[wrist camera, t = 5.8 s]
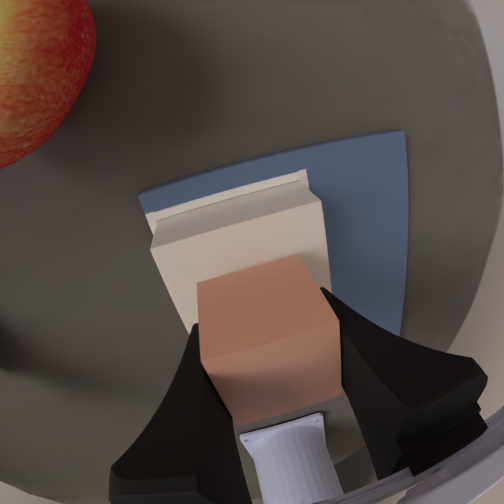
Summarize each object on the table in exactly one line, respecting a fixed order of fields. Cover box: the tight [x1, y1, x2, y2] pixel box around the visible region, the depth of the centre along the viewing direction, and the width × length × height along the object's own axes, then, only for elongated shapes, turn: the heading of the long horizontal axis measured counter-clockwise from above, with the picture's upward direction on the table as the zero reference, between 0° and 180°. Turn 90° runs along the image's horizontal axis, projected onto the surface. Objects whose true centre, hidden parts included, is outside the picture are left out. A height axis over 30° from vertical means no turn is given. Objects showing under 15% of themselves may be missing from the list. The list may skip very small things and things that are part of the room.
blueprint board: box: [138, 129, 409, 336], centre depth 19 cm, size 18×14×1 cm
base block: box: [150, 181, 332, 335], centre depth 15 cm, size 7×7×3 cm
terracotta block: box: [197, 254, 342, 426], centre depth 11 cm, size 4×4×4 cm
